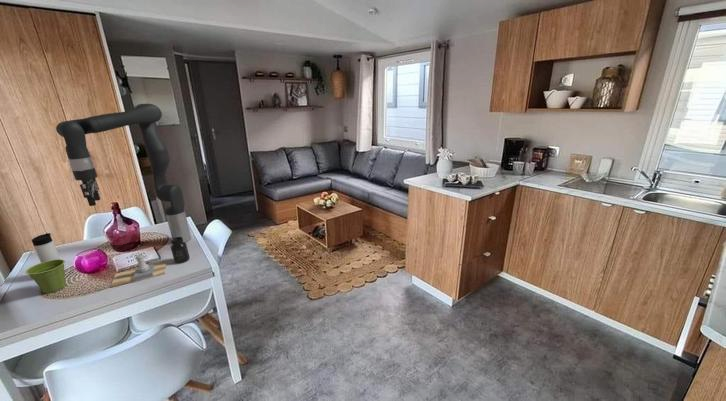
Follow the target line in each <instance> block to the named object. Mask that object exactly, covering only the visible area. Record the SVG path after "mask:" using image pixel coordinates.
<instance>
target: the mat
mask: <svg viewBox="0 0 726 401" xmlns="http://www.w3.org/2000/svg"><path fill="white" fill-rule="evenodd" d="M153 264H154V263H153ZM166 266H167V261H162V262H158V263H155V264H154V273H153V276H151V277H147V278H143V279H139V280H135V281H134V278H133V277H134V273H135V270H136V268H134V269H130V270H125V271H121V272H117V273H115V274H114V277H113V279H112V282H111V284H110V289H112V288H116V287H120V286H124V285H128V284H132V283H135V282H139V281H143V280H147V279H151V278H155V277H159V276H162V275H165V273H166Z"/></svg>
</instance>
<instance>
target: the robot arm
mask: <svg viewBox="0 0 726 401" xmlns="http://www.w3.org/2000/svg"><path fill="white" fill-rule="evenodd" d="M162 113H163V112H162V110H161V109H160V107H158V106H157V105H156V104H152V103H140V104H137V105H136V106H135V108H134V109H131V110H126V111H119V112H111V113H103V114H99V115H98V114H97V115H92V116H88V117H84V118H79V119H72V120H65V121H61V122H59V123H58V124H57V125H56V126H55V131H56V133H57V134H58V135H59V136H61V137H63V140H64V142H65V153H66V156H67V159H68V162H69V166H70V168H71V171H72V175H73V177H74V180H75V181H81V183H80V185H79V187H80V189H81V192H82V196H83V198H84V199H86V200H87V203H88V205H89V207H93V206H96V205H97V203H96V201H100V200H101V197H100V194H99V190H100V188H99V185H98V183H97V180H96V178H97V177H98V174H97V170H96V167H95V164H94V161H93V160H92V157H91V155H90V152H89V149H88V147H87V138H86V135H89V134H98V133H104V132H107V131H111V130H115V129H118V128H122V127H128V126H133V125H137V124H138V127H139V129H140V131H141V135H142V139H143V140H142V141H143V144H144V148H145V151H146V155H147V158H148V162H149V165H150V169H151V172H152V177H153V184H154V191H155V194H156V198H157V199H158V200H159V201H161V202H170V205H169V206H168V207H166V208H165V209H164V213H165V216H166V221H167V224H168V227H169V228H168V229H169V231H170V232H169V233H170V235H171V240H172V239H173V238H176V237H182V239H183V242H185V243H187V242H189V241H191V240H192V236H191V235H192V234H191V230H190V227H189V223H188V219H187V213H186V210H185V200H184V199H185V198H184V195H183V190H182V188H181V186H180V185H178V184H168V181H167V177H166V176H167V171H168V168H169V165H170V162H171V158H170V154H169V150H168V147H167V145H166V143H165V142H164V140H163V139H162V137H161V135H160V133H159V131H158V127H157V123H158V122H159V121H160V120H161V119H162V117H163V116H162V115H163V114H162Z"/></svg>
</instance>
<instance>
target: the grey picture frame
mask: <svg viewBox="0 0 726 401" xmlns="http://www.w3.org/2000/svg"><path fill="white" fill-rule="evenodd" d="M147 265H148V266H149V270H148V271H146V272H142V273H141V272H138V267H136V268H135V269H136V270H135V273H134V277H133V278H134V281H135V280H139V279H143V278H147V277H151V276H153V273H154V263H153V264H147ZM151 278H152V277H151ZM147 279H148V278H147Z"/></svg>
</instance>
